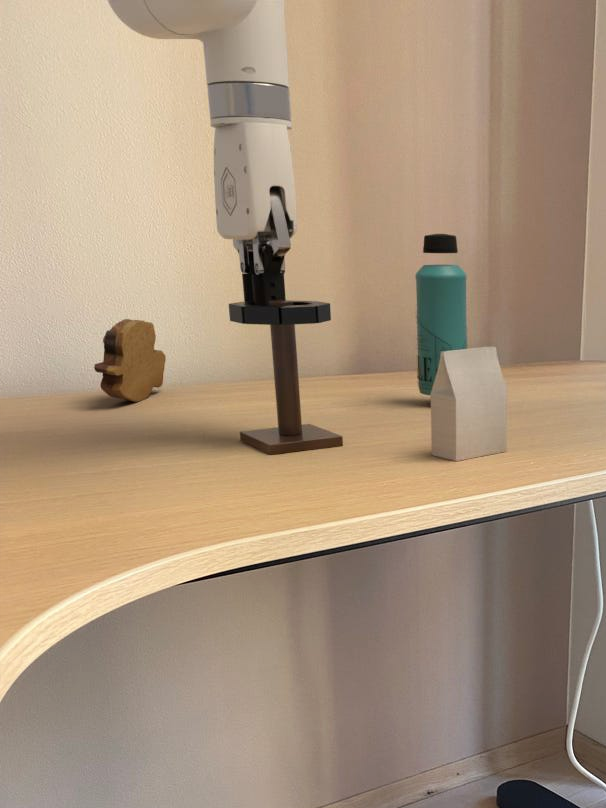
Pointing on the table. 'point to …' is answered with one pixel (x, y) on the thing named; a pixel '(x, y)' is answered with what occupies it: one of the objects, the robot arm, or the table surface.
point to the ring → (280, 313)
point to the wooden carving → (131, 361)
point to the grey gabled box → (468, 405)
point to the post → (288, 402)
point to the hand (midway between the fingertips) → (266, 314)
